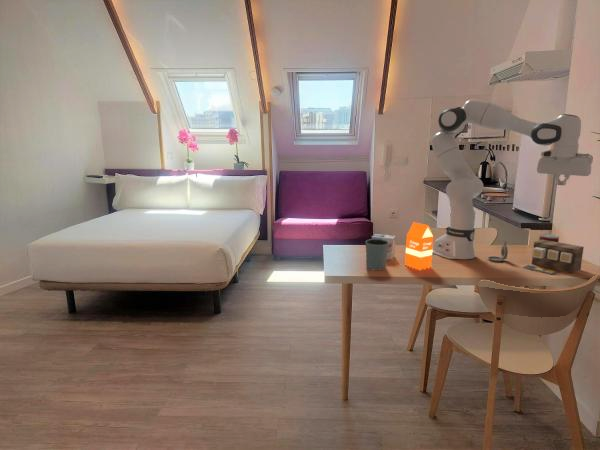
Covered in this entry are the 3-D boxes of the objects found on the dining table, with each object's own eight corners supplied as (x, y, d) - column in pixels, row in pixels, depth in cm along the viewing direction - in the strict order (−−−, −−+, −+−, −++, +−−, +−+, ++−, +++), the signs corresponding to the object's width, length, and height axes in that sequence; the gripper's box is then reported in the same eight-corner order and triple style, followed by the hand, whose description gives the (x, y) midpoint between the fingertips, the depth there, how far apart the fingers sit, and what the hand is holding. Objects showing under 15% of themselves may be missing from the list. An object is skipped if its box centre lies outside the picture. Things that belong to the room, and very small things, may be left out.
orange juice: (419, 270, 180) (422, 226, 176) (404, 265, 188) (407, 222, 184) (431, 267, 185) (434, 224, 180) (416, 262, 192) (419, 221, 188)
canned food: (558, 260, 196) (561, 237, 194) (540, 259, 198) (543, 237, 195) (552, 255, 203) (555, 234, 201) (534, 254, 205) (537, 233, 203)
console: (531, 263, 190) (534, 241, 188) (539, 260, 195) (541, 239, 193) (573, 273, 177) (576, 249, 175) (580, 269, 182) (583, 246, 180)
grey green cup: (382, 263, 191) (383, 238, 188) (390, 270, 181) (392, 244, 178) (361, 264, 189) (362, 239, 186) (369, 271, 179) (370, 245, 177)
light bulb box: (370, 257, 200) (371, 236, 198) (373, 254, 206) (374, 233, 204) (392, 260, 196) (393, 238, 194) (394, 256, 202) (395, 235, 200)
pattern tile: (523, 267, 184) (523, 266, 184) (527, 265, 187) (528, 264, 187) (552, 274, 175) (552, 273, 175) (556, 272, 178) (557, 271, 178)
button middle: (546, 258, 183) (547, 249, 182) (553, 255, 187) (554, 247, 187) (556, 260, 180) (557, 251, 179) (563, 257, 184) (564, 249, 184)
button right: (559, 261, 179) (560, 252, 178) (566, 258, 183) (567, 249, 183) (569, 263, 176) (570, 254, 175) (576, 260, 180) (577, 251, 180)
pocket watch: (484, 259, 197) (486, 239, 195) (497, 257, 201) (499, 237, 198) (498, 264, 190) (501, 243, 188) (511, 261, 193) (514, 241, 191)
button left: (531, 256, 185) (532, 248, 185) (538, 254, 190) (539, 245, 189) (541, 258, 182) (542, 250, 182) (548, 256, 187) (549, 247, 186)
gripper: (596, 153, 170) (591, 186, 173) (543, 152, 186) (539, 182, 189) (590, 153, 166) (585, 187, 169) (537, 152, 182) (533, 183, 185)
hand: (561, 185), depth 179 cm, fingers closed
